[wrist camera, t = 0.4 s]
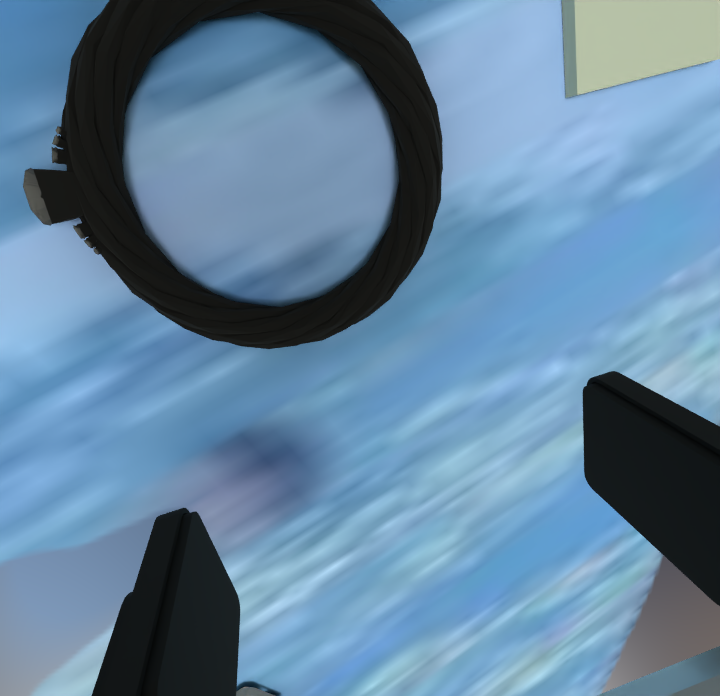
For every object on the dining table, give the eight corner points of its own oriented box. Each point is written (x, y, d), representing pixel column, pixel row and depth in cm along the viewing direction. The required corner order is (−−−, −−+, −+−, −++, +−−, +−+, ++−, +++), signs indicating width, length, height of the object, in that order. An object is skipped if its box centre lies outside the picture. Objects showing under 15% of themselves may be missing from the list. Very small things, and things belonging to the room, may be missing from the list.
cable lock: (453, 327, 39) (88, 387, 34) (437, 315, 42) (104, 367, 37) (448, -74, 28) (-76, -71, 24) (428, -46, 32) (-33, -39, 27)
